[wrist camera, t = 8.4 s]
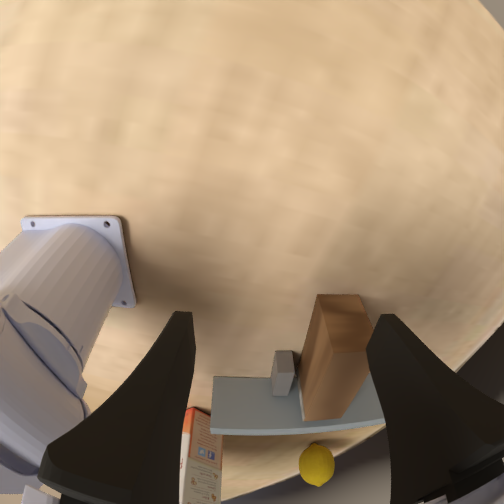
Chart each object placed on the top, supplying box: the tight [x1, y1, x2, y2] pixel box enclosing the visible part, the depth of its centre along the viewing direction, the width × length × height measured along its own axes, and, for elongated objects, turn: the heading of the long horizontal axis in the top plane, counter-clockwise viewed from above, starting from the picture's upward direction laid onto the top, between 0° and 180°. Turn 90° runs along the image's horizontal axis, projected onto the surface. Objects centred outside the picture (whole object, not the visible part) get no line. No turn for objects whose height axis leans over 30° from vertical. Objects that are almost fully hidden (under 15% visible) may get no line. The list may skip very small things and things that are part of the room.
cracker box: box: [179, 407, 223, 504], centre depth 26 cm, size 14×6×21 cm, turn 130°
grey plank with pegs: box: [210, 351, 385, 435], centre depth 25 cm, size 20×6×6 cm, turn 87°
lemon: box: [299, 443, 334, 486], centre depth 36 cm, size 6×6×8 cm
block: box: [296, 294, 374, 421], centre depth 23 cm, size 4×10×6 cm, turn 177°
